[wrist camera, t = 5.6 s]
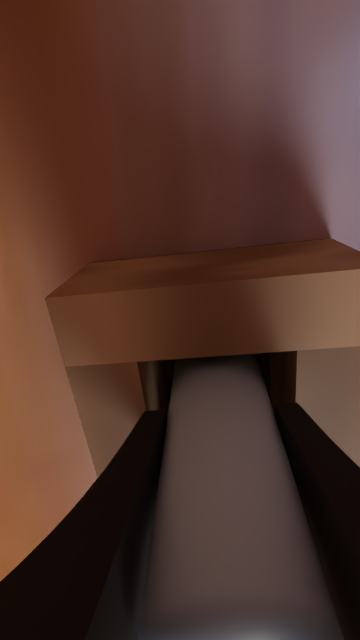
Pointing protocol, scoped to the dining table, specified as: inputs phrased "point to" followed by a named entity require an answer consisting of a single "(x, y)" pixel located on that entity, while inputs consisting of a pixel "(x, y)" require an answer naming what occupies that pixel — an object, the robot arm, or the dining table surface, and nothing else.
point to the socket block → (213, 332)
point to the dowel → (230, 519)
